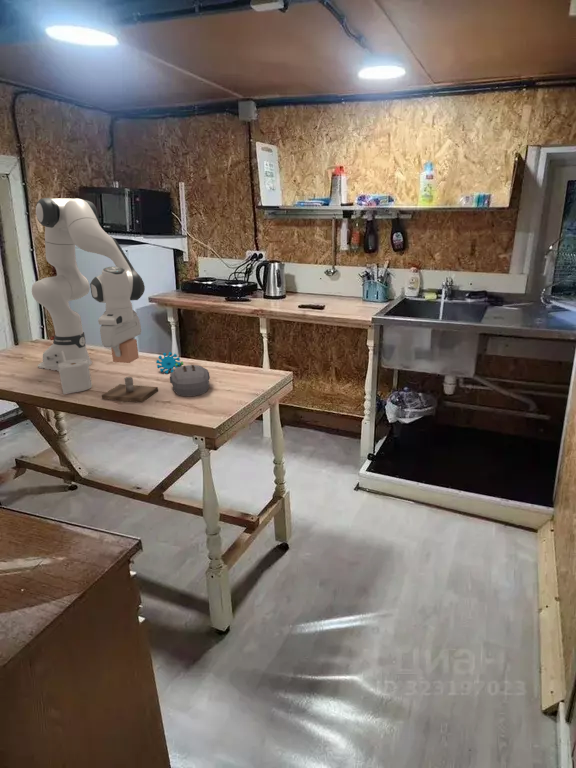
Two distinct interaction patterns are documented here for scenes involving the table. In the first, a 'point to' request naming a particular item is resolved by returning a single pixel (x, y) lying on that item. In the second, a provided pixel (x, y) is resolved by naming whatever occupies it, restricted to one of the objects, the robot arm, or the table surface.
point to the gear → (169, 362)
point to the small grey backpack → (190, 380)
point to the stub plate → (130, 392)
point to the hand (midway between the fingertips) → (125, 353)
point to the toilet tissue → (74, 375)
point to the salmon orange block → (127, 352)
